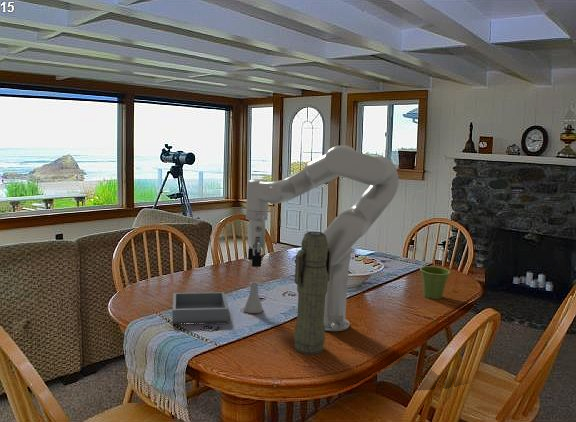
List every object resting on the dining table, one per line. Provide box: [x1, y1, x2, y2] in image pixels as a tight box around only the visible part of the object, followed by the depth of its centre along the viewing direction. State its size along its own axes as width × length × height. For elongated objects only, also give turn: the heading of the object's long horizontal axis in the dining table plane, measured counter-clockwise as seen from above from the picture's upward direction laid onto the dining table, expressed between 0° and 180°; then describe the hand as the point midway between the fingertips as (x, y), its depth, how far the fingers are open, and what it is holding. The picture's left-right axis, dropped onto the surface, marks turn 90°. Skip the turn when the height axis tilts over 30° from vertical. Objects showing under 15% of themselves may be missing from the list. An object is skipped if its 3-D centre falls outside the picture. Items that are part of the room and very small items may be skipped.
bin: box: [171, 291, 230, 325], centre depth 179 cm, size 18×18×5 cm
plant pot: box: [419, 265, 451, 300], centre depth 211 cm, size 12×12×11 cm
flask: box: [243, 281, 264, 314], centre depth 185 cm, size 7×7×10 cm
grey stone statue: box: [293, 231, 331, 355], centre depth 153 cm, size 9×12×35 cm
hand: (254, 262), depth 184 cm, fingers open, 9 cm apart
